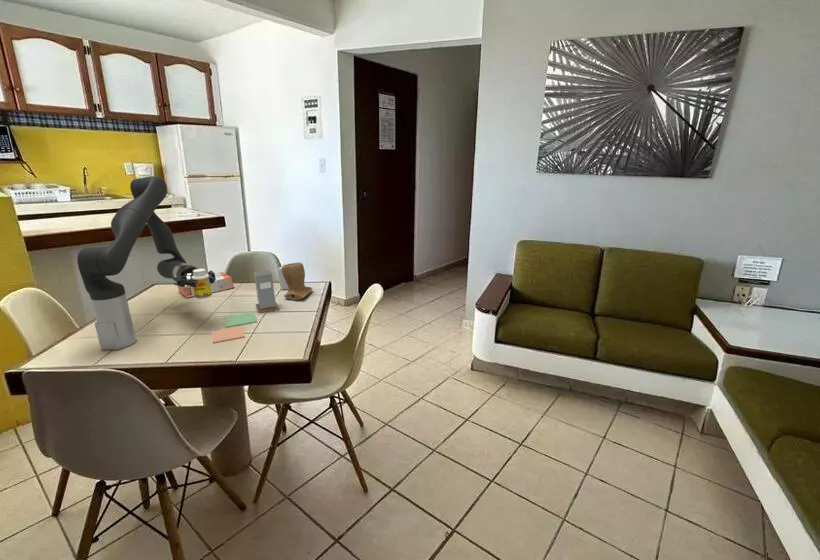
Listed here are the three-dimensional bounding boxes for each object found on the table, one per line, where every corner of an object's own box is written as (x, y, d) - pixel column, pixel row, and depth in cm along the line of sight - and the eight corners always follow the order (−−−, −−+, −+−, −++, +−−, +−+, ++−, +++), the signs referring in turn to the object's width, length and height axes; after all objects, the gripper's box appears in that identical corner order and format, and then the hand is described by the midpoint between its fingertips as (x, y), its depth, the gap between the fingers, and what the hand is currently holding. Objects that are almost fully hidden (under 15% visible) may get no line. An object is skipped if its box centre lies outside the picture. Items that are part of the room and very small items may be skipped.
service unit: (279, 310, 163) (274, 274, 159) (258, 313, 160) (253, 277, 155) (275, 303, 171) (271, 269, 166) (255, 306, 167) (251, 271, 163)
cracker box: (232, 276, 190) (184, 286, 177) (234, 288, 192) (186, 299, 178) (222, 270, 200) (175, 279, 187) (224, 282, 202) (178, 292, 188)
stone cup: (290, 290, 188) (287, 259, 184) (315, 290, 187) (312, 259, 182) (277, 301, 173) (273, 268, 169) (303, 301, 172) (300, 268, 168)
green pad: (257, 322, 151) (257, 321, 151) (225, 327, 147) (225, 326, 146) (254, 312, 161) (254, 311, 161) (224, 317, 156) (224, 316, 156)
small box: (292, 290, 188) (289, 268, 185) (280, 290, 188) (277, 268, 185) (297, 284, 196) (294, 264, 193) (285, 285, 196) (283, 264, 193)
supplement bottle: (192, 299, 143) (187, 272, 140) (199, 294, 148) (194, 268, 145) (208, 299, 143) (203, 271, 140) (214, 294, 148) (210, 267, 145)
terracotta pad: (244, 337, 138) (244, 336, 138) (213, 343, 134) (212, 342, 134) (242, 327, 147) (242, 325, 147) (212, 332, 143) (212, 331, 143)
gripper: (164, 268, 147) (180, 276, 136) (204, 261, 157) (222, 268, 146) (167, 287, 149) (183, 297, 138) (207, 279, 159) (225, 288, 148)
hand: (203, 282), depth 142 cm, fingers closed on supplement bottle, 5 cm apart
